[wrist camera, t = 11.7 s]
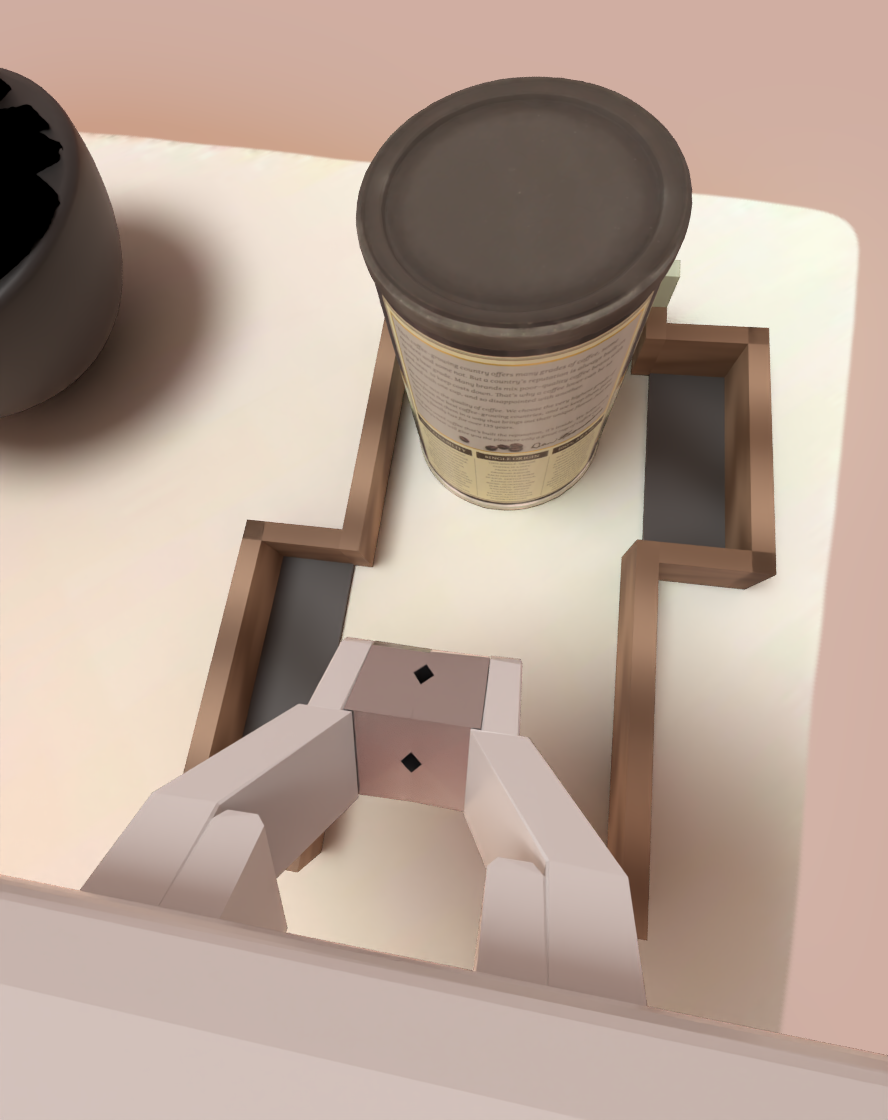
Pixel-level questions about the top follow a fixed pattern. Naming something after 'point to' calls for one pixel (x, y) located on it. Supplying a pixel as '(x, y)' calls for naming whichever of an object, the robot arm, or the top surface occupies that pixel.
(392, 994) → the robot arm
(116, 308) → the coal bowl
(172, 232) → the top surface
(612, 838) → the trap lane
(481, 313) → the coffee can
